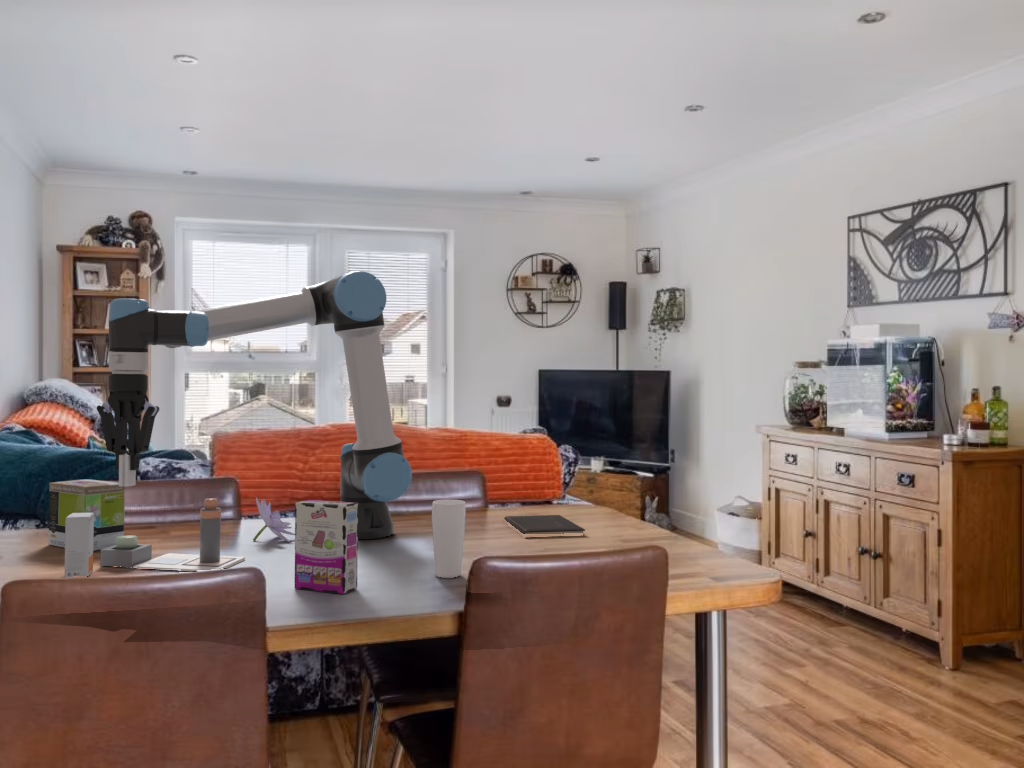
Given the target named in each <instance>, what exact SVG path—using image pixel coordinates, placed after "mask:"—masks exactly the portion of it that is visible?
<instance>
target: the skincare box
mask: <svg viewBox="0 0 1024 768" xmlns="http://www.w3.org/2000/svg"><path fill="white" fill-rule="evenodd" d="M93 536H94V513H72V514H70V515H68V517H66V521H65V548H64V576H63V577H73V576H88V577H89V576H90V575H91V574H92V572H94V551H93Z"/></svg>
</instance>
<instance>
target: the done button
mask: <svg viewBox="0 0 1024 768" xmlns="http://www.w3.org/2000/svg"><path fill="white" fill-rule="evenodd" d="M137 544H138V536H137V535H133V534H132V535H128V534H127V535H124V536H119V537H117V538H116V548H119V549H128V548H134V547H137Z"/></svg>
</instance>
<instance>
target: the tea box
mask: <svg viewBox="0 0 1024 768" xmlns="http://www.w3.org/2000/svg"><path fill="white" fill-rule="evenodd" d="M48 485H49V489H48V546H54V547H60V548H64V549H65V521H66V517H68V515H70V514H72V513H94V536H93V552H95V551H101V550H102V549H105V548H108V547H111V546H114V545H116V538H117V537H119V536H125V513H124V496H125V486H119V481H118V482H117V481H116V482H115V481H107V480H99V479H98V480H97V479H90V478H89V479H85V478H84V479H74V480H63V481H55V482H49V483H48Z"/></svg>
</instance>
